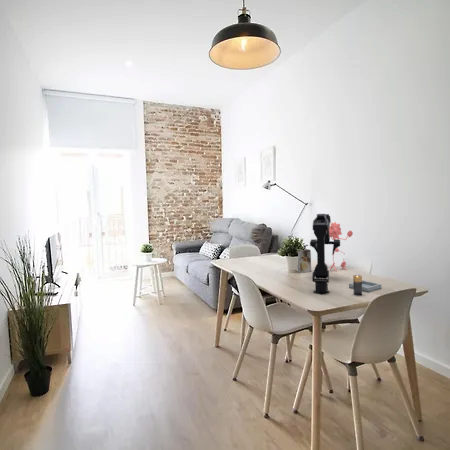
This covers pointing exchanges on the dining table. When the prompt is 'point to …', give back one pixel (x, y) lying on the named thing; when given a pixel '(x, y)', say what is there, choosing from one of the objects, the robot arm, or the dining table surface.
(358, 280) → the big battery
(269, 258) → the dining table surface
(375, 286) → the grey tray
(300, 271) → the coffee box
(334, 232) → the pink flower sprig
